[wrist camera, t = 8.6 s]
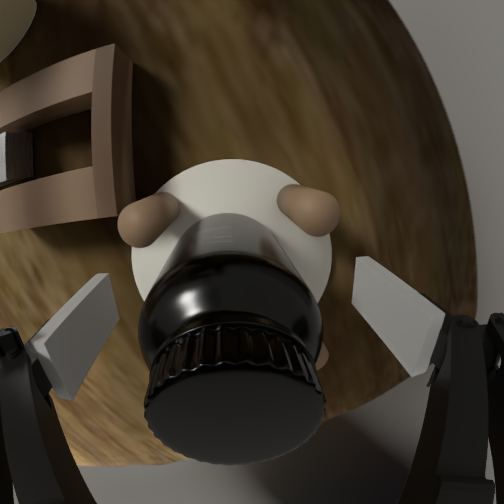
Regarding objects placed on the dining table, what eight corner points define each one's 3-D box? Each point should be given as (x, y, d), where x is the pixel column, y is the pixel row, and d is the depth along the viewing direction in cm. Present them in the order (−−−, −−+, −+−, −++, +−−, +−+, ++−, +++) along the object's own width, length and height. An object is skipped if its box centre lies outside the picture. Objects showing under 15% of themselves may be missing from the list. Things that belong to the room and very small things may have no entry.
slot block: (24, 223, 16) (-4, 234, 12) (19, 101, 13) (-8, 95, 10) (136, 206, 16) (117, 216, 13) (133, 61, 13) (115, 43, 10)
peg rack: (101, 270, 17) (63, 307, 12) (224, 116, 15) (222, 92, 10) (240, 371, 21) (244, 424, 15) (363, 253, 19) (406, 284, 13)
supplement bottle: (170, 305, 18) (119, 462, 6) (180, 203, 16) (81, 285, 5) (271, 319, 19) (314, 476, 7) (293, 221, 17) (405, 325, 5)
